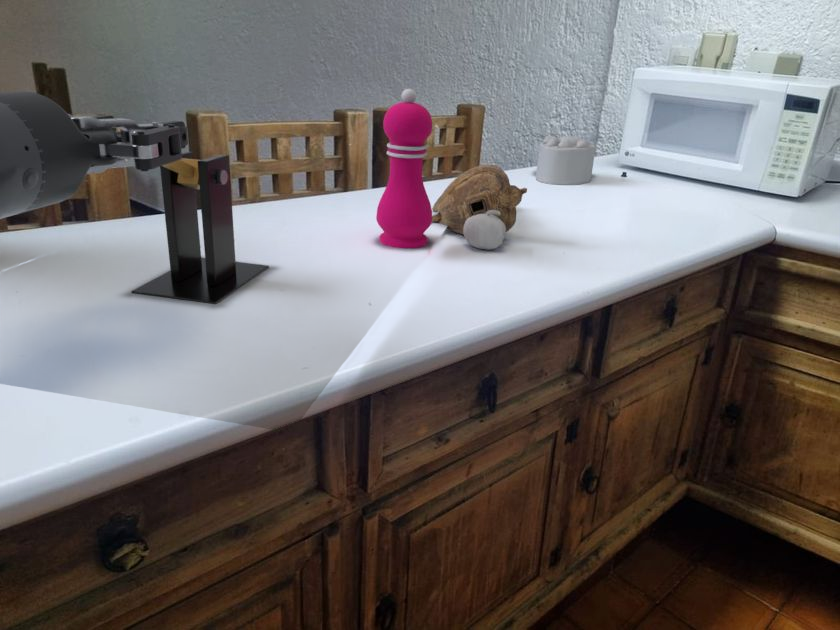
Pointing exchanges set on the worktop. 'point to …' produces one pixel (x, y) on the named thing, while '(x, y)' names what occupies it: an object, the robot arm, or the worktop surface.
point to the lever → (181, 169)
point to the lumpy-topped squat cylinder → (565, 161)
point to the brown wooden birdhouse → (478, 198)
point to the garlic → (484, 230)
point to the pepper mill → (405, 176)
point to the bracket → (187, 268)
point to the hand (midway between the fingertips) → (146, 131)
